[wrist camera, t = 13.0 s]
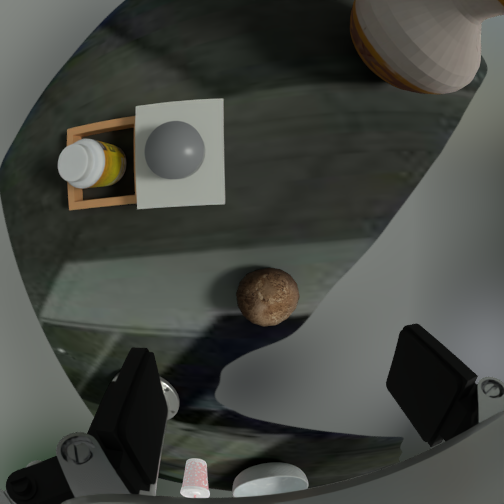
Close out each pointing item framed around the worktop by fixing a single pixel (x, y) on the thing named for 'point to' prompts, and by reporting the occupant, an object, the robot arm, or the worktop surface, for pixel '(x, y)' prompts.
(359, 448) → the worktop surface
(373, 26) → the jug
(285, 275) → the mushroom
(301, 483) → the cereal bowl
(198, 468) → the beverage cup
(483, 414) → the robot arm
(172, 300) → the worktop surface
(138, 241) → the worktop surface
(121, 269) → the worktop surface
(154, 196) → the open box with knob
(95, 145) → the supplement bottle
